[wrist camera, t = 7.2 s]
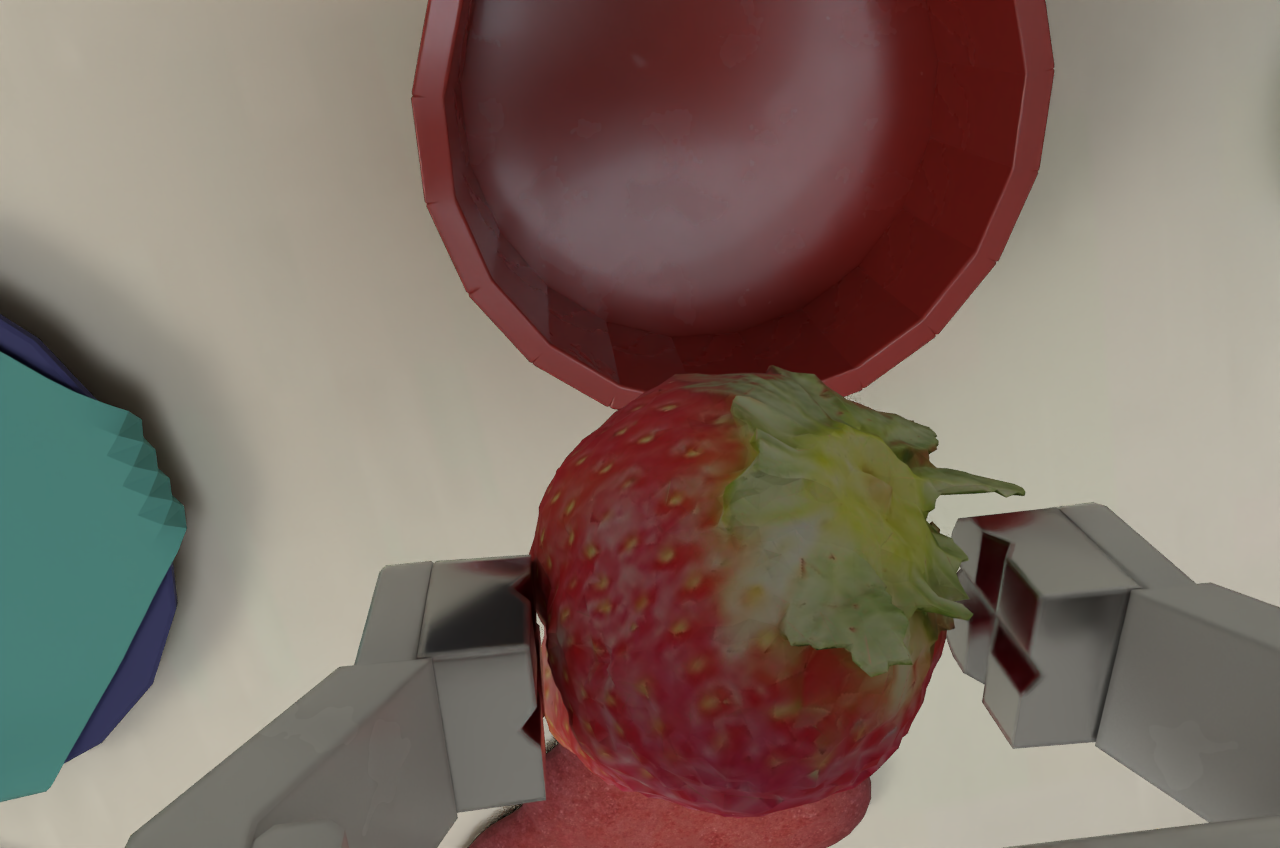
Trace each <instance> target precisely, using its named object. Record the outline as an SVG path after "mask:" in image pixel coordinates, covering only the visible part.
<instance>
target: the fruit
mask: <svg viewBox="0 0 1280 848" xmlns="http://www.w3.org/2000/svg"><path fill="white" fill-rule="evenodd" d="M935 437H937V435H936V433H935V432H933V431H932V430H931V429H930V428H929V427H927V426H923V425H920V424H918V423H915V422H914V421H911V420H907V419H905V418H903V417H901V416H899V415H897V414H892V413H885V412H878V411H875V410H873V409H871V408H868V407H866V406H864V405H862V404H859V403H856V402H853V401H850V400H847V399H846V398H844V397H843V396H841V395H840V394H838V393H837V392H835V391H834V390H832V389H831V388H829V387H828V386H826V385H825V384H824V383H823V382H822V381H821V380H820V379H819V378H818V377H817V376H816V375H815V374H807V373H796V372H790V371H787V370H785V369H782V368H779V367H776V366H774V365H771V366H769V367H768V369H767V371H766V373H733V374H722V375H709V374H698V373H694V374H675V375H674V376H672V377H671V378H669V379H668V380H666V381H665V382H663V383H662V384H660V385H659V386H657V387H655V388H653V389H651V390H649V391H647V392H645V393H643V394H641V395H640V396H639V397H637V398H636V399H635V400H633V401H630V402H629V403H628V404H627V405H626V406H625V407H623V408H621V409H620V410H618V411H616V412H615V413H614V414H613V415H612V416H611V417H610V418H609V419H608V420H607V421H606V422H605V423H604V424H603V425H602V426H601V427H600V428H598V429H597V430H596V431H594V432H593V433H591V434H590V435H589V436H587V437H586V438H584V439H583V440H582V441H581V443H580V444H579V445H578V446H577V447H576V448H575V449H574V450H573V451H572V452H571V453H570V454H569V455H568V456H567V457H566V459H565V460H564V462H563V463H562V465H561V467H560V468H558V469H557V471H556V475H555V476H554V478H553V480H552V481H551V483H550V484H549V486H548V488H547V490H546V492H545V494H544V497H543V499H542V501H541V503H540V506H539V516H538V522H537V527H536V531H535V537H534V540H533V544H532V547H531V550H530V553H529V555H531V556H532V564H533V577H534V586H535V595H536V612H537V614H538V616H539V618H540V621H541V622H542V624H543V625H544V639H543V642H542V645H541V651H542V663H543V681H544V704H545V718H546V720H547V723H548V726H549V731H550V732H551V734H552V735H553V736H554V738H555V739H556V740H557V741H558V742H559V743H560V744H561V745H562V746H564V747H565V748H567V749H568V750H570V751H571V752H573V753H574V754H576V755H577V757H578V758H579V759H580V760H581V761H582V763H583V764H584V765H585V766H586V767H587V768H588V769H589V770H590V771H591V772H592V773H594V774H595V775H597V776H598V777H600V778H601V779H602V780H603V781H604V782H606V783H607V784H608V785H615V786H616V787H617V788H619V789H620V790H621V791H625V792H640V793H641V794H643V795H644V796H646V797H647V798H657V799H663V800H666V801H669V802H672V803H676V804H678V805H681V806H683V807H686V808H688V809H692V810H698V811H704V812H708V813H713V814H717V815H720V816H723V817H734V818H737V819H739V818H744V817H764V816H766V815H768V814H770V813H773V812H777V811H782V810H786V809H790V808H795V807H799V806H802V805H805V804H810V803H816V802H818V801H820V800H821V799H824V798H827V797H828V796H830V795H833V794H836V793H839V792H843V791H847V790H850V789H854V788H855V787H856V786H858V785H859V784H860V783H862V782H863V781H864V780H866V779H867V778H868V777H870V776H871V775H872V774H873V773H874V772H876V771H877V770H878V769H879V768H880V767H881V766H882V765H883V764H884V763H885V762H886V761H887V760H888V759H889V758H890V756H891V755H892V754H893V753H894V752H895V751H896V750H897V749H898V748H899V745H900V743H901V740H902V737H904V736H905V735H906V734H907V733H908V731H909V728H910V726H911V724H912V722H913V720H914V718H915V716H916V714H917V713H918V711H919V709H920V707H921V705H922V704H923V701H924V697H925V692H926V688H927V686H928V684H929V682H930V679H931V676H932V673H933V670H934V668H935V666H936V664H937V662H938V661H939V659H940V657H941V655H942V651H943V647H944V643H945V639H946V634H947V630H952V629H955V625H954V620H953V618H956V619H961V620H970V618H971V617H972V616H973V613H972V612H970V611H969V610H968V609H967V608H966V607H965V606H964V605H963V604H960V603H957V602H954V601H960V600H966V599H969V597H968V596H967V594H966V592H965V591H964V589H963V587H962V586H961V584H960V581H959V579H958V576H957V574H956V573H957V571H958V569H959V566H960V564H961V562H965V561H968V560H969V559H968V556H967V555H966V554H965V553H964V551H963V550H962V549H961V548H960V547H959V546H958V545H957V544H955V543H954V542H953V539H952V538H950V537H947V536H945V535H943V534H940V529H939V528H938V527H937V526H936V525H935V524H934V523H933V522H931V523H930V524H929V523H928V522H927V521H926V518H927V516H928V513H929V512H930V511H932V510H933V509H935V502H936V499H937V498H938V497H939V496H940V495H953V494H975V493H988V492H996V493H998V494H1000V495H1002V496H1004V497H1006V498H1007V497H1009V496H1011V495H1019V496H1024V495H1025V491H1024V489H1023V488H1022V487H1020V486H1017V485H1015V484H1012V483H1007V482H1003V481H998V480H994V479H989V478H985V477H981V476H976V475H972V474H969V473H966V472H963V471H958V470H953V469H948V468H936V467H935V466H934V465H933V464H932V463H931V462H930V461H929V454H930V453H932V452H933V451H935V450H937V446H938V440H937V439H936V438H935Z"/></svg>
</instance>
